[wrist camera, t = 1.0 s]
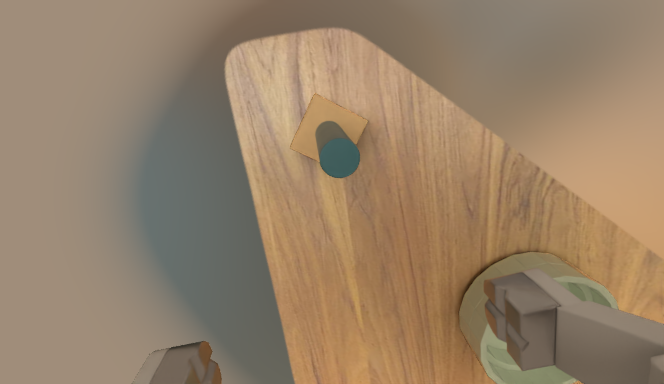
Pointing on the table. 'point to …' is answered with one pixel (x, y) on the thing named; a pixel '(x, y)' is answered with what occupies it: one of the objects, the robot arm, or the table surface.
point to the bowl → (494, 351)
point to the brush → (330, 137)
